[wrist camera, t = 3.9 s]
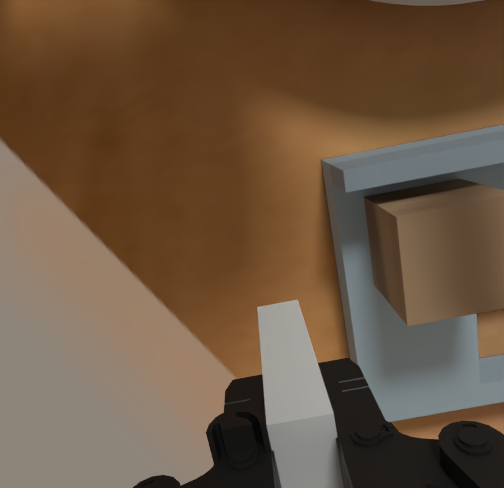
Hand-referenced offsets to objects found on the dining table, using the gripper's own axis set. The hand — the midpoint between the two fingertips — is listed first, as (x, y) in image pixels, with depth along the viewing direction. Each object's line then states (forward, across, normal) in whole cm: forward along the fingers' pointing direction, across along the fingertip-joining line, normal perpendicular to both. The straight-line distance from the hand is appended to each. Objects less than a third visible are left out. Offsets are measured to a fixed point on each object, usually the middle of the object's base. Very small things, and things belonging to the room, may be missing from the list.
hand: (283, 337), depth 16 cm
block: (+8, +8, 0) cm, 11 cm away
